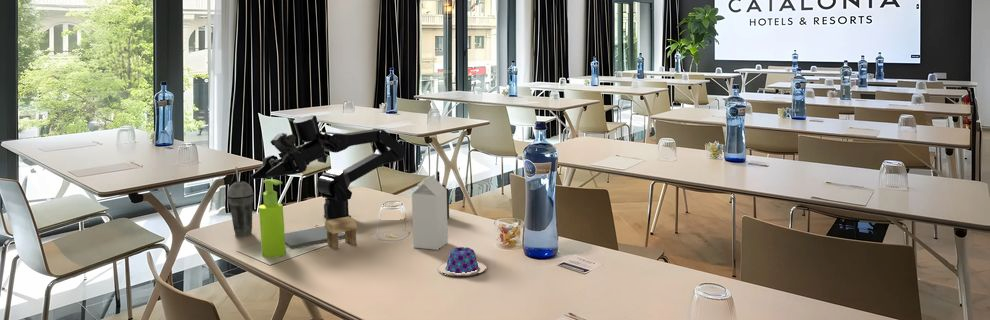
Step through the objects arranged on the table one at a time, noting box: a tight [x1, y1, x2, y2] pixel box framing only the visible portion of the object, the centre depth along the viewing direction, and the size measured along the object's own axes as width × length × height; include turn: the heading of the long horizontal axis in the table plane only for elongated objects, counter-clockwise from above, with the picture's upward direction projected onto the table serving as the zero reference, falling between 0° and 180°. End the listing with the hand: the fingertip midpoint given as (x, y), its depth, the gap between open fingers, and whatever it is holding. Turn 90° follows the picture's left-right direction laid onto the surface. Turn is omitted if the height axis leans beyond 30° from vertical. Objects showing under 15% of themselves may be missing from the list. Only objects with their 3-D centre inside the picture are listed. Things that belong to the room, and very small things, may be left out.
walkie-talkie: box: [436, 171, 450, 219], centre depth 214 cm, size 5×3×15 cm
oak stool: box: [324, 216, 358, 250], centre depth 189 cm, size 7×5×7 cm
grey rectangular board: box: [284, 225, 345, 249], centre depth 197 cm, size 16×12×1 cm
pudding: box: [437, 246, 488, 276], centre depth 170 cm, size 12×12×5 cm
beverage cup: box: [226, 166, 255, 238], centre depth 198 cm, size 7×7×20 cm
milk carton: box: [411, 174, 449, 251], centre depth 187 cm, size 7×7×19 cm
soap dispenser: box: [258, 178, 287, 259], centre depth 181 cm, size 6×7×20 cm
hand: (259, 176), depth 195 cm, fingers open, 9 cm apart
